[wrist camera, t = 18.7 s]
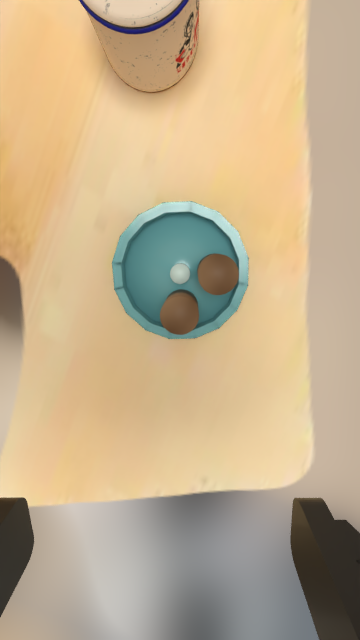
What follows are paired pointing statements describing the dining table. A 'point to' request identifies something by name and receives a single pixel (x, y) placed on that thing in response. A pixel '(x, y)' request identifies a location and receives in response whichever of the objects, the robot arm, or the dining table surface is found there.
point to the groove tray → (169, 248)
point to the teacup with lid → (147, 38)
